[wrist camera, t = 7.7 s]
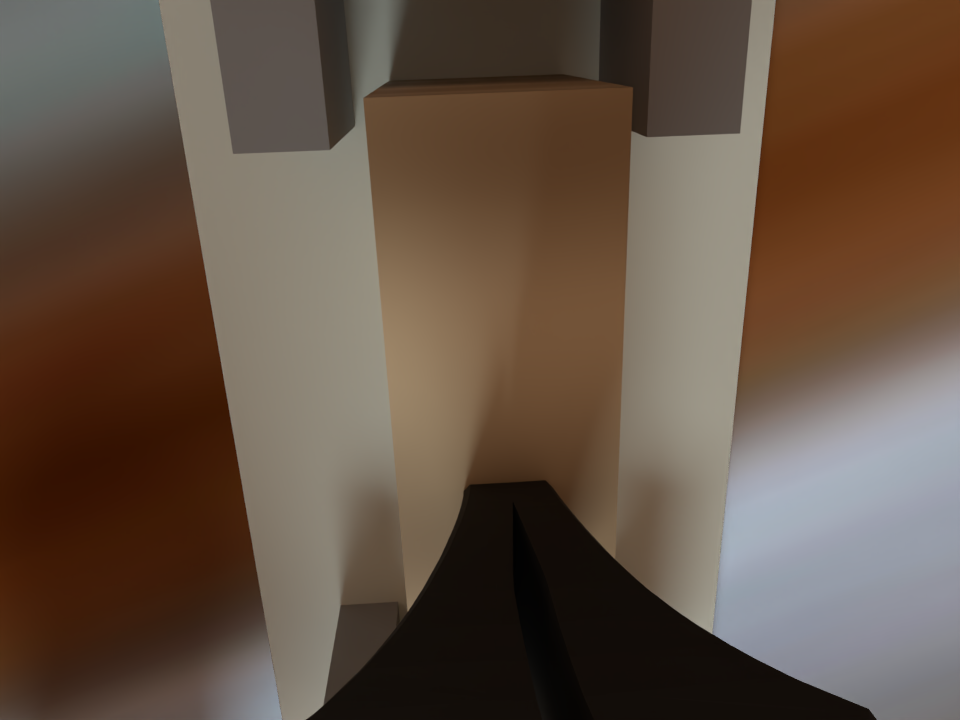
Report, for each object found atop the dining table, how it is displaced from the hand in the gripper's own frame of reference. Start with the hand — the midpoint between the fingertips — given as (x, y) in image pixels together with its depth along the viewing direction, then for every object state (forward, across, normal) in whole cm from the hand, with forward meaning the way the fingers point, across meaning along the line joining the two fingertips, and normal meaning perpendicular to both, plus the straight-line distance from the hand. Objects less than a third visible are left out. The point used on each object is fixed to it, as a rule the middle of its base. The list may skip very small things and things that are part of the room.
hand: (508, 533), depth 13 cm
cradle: (+7, 0, 0) cm, 7 cm away
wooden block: (+6, 0, 0) cm, 6 cm away
